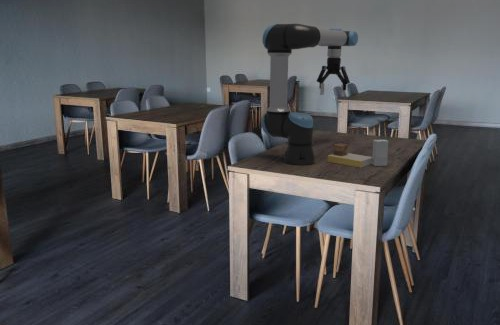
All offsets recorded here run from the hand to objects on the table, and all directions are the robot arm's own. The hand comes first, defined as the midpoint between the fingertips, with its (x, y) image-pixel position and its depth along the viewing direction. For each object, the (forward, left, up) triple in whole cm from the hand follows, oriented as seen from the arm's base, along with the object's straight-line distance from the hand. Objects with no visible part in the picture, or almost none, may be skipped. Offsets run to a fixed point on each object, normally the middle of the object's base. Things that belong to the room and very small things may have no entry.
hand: (332, 95), depth 262 cm
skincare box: (-29, -45, -28) cm, 61 cm away
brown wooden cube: (-34, -27, -25) cm, 50 cm away
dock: (-34, -32, -28) cm, 54 cm away
